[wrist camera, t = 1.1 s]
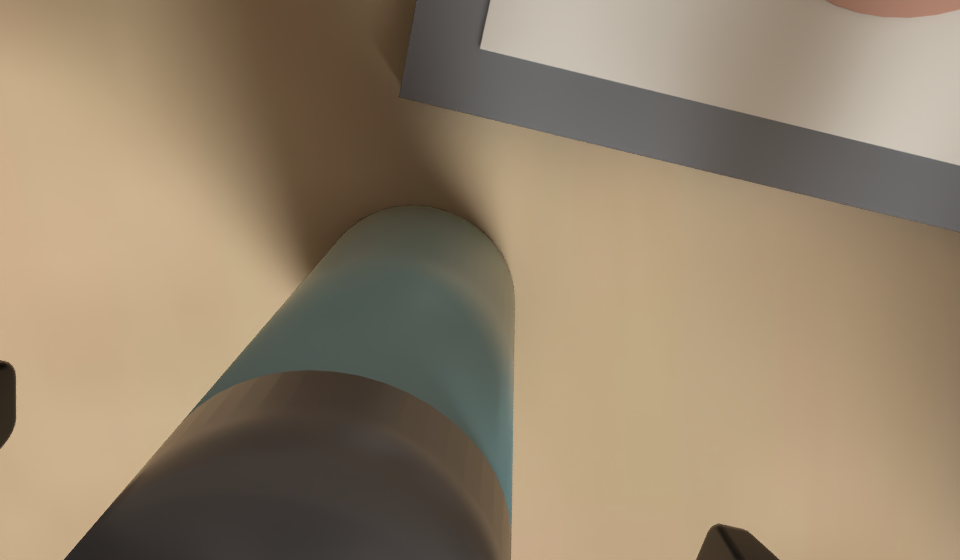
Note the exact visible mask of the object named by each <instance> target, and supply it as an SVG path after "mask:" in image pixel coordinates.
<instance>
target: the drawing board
mask: <svg viewBox="0 0 960 560" xmlns="http://www.w3.org/2000/svg"><path fill="white" fill-rule="evenodd" d="M399 97H400V98H404V99H408V100H413V101H417V102H421V103H425V104H429V105H433V106H438V107H442V108H446V109H450V110H454V111H458V112H462V113H467V114H471V115H475V116H479V117H483V118H487V119H492V120H496V121H500V122H504V123H508V124H512V125H516V126H521V127H525V128H529V129H533V130H537V131H541V132H546V133H550V134H554V135H558V136H562V137H566V138H570V139H575V140H579V141H583V142H587V143H591V144H595V145H600V146H604V147H608V148H612V149H616V150H620V151H624V152H629V153H633V154H637V155H641V156H645V157H649V158H653V159H658V160H662V161H666V162H670V163H674V164H678V165H683V166H687V167H691V168H695V169H699V170H703V171H707V172H712V173H716V174H720V175H724V176H728V177H732V178H737V179H741V180H745V181H749V182H753V183H757V184H761V185H766V186H770V187H774V188H778V189H782V190H786V191H791V192H795V193H799V194H803V195H807V196H811V197H815V198H820V199H824V200H828V201H832V202H836V203H840V204H845V205H849V206H853V207H857V208H861V209H865V210H869V211H874V212H878V213H882V214H886V215H890V216H894V217H899V218H903V219H907V220H911V221H915V222H919V223H923V224H928V225H932V226H936V227H940V228H944V229H948V230H952V231H957V232H960V0H417V1H416V6H415V12H414V17H413V23H412V28H411V34H410V39H409V44H408V50H407V55H406V61H405V66H404V72H403V77H402V83H401V88H400V94H399Z"/></svg>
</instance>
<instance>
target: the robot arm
mask: <svg viewBox="0 0 960 560" xmlns="http://www.w3.org/2000/svg"><path fill="white" fill-rule="evenodd" d="M15 422H16V374H15V370H14V367H13V366H12V365H11V364H10V363H9V362H6V361H1V360H0V449H1V447H2V446H3V445H4V444H5V443H6V441H7V440H8V438H9V437H10V435H11V433H12V431H13V429H14V426H15ZM696 560H779V559H778V558H777V557H776V556H775V555H774V554H773V553H772V552H770V551H769V550H768V549H767V548H766V547H765V546H764V545H763V544H762V543H760V542H759V541H758V540H757V539H756V538H755V537H754V536H753V535H752V534H751V533H749V532H748V531H746V530H744V529H741V528H736V527H732V526H727V525H723V524H716V525H714V526H712V527H711V528H710V530H709V531H708V533H707V535H706V538H705V540H704V542H703V545H702V547H701V549H700V552H699V554H698V557H697V559H696Z"/></svg>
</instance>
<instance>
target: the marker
mask: <svg viewBox="0 0 960 560" xmlns="http://www.w3.org/2000/svg"><path fill="white" fill-rule="evenodd" d="M514 326H515V295H514V286H513V282H512V277H511V274H510V271H509V269H508V266H507V264H506V262H505V260H504V258H503V256H502V255H501V253H500V251H499V250H498V249H497V247H496V246H495V245H494V243H493V242H492V241H491V240H490V239H489V238H488V237H487V236H486V235H485V234H484V233H483V232H482V231H481V230H480V229H478V228H477V227H476V226H475V225H473V224H472V223H470V222H468V221H467V220H465V219H464V218H462V217H460V216H457V215H455V214H453V213H451V212H448V211H445V210H441V209H438V208H433V207H427V206H414V205H409V206H397V207H393V208H388V209H384V210H381V211H379V212H376V213H373V214H371V215H369V216H367V217H365V218H363V219H362V220H360V221H359V222H357V223H356V224H355V225H353V226H352V227H351V228H350V229H348V230H347V231H346V232H345V233H344V234H343V235H342V236H341V238H340V239H339V240H338V241H337V242H336V243H335V244H334V246H333V247H332V248H331V249H330V250H329V251H328V253H327V254H326V255H325V256H324V257H323V258H322V260H321V261H320V262H319V263H318V264H317V265H316V267H315V268H314V269H313V270H312V271H311V272H310V274H309V275H308V276H307V277H306V278H305V279H304V281H303V282H302V283H301V284H300V285H299V286H298V288H297V289H296V290H295V291H294V292H293V293H292V295H291V296H290V297H289V298H288V299H287V300H286V302H285V303H284V304H283V305H282V306H281V307H280V309H279V310H278V311H277V312H276V313H275V314H274V316H273V317H272V318H271V319H270V320H269V321H268V323H267V324H266V325H265V326H264V327H263V328H262V330H261V331H260V332H259V333H258V334H257V335H256V337H255V338H254V339H253V340H252V341H251V342H250V344H249V345H248V346H247V347H246V348H245V349H244V350H243V352H242V353H241V354H240V355H239V356H238V357H237V359H236V360H235V361H234V362H233V363H232V364H231V366H230V367H229V368H228V369H227V370H226V371H225V373H224V374H223V375H222V376H221V377H220V378H219V380H218V381H217V382H216V383H215V384H214V385H213V387H212V388H211V389H210V390H209V391H208V392H207V394H206V395H205V396H204V397H203V398H202V399H201V401H200V402H199V403H198V404H197V405H196V406H195V408H194V409H193V410H192V411H191V412H190V413H189V415H188V416H187V417H186V418H185V419H184V420H183V422H182V423H181V424H180V425H179V426H178V427H177V429H176V430H175V431H174V432H173V433H172V434H171V436H170V437H169V438H168V439H167V440H166V441H165V443H164V444H163V445H162V446H161V447H160V448H159V450H158V451H157V452H156V453H155V454H154V455H153V457H152V458H151V459H150V460H149V461H148V462H147V463H146V465H145V466H144V467H143V468H142V469H141V470H140V472H139V473H138V474H137V475H136V476H135V477H134V479H133V480H132V481H131V482H130V483H129V484H128V486H127V487H126V488H125V489H124V490H123V491H122V493H121V494H120V495H119V496H118V497H117V498H116V500H115V501H114V502H113V503H112V504H111V505H110V507H109V508H108V509H107V510H106V511H105V512H104V514H103V515H102V516H101V517H100V518H99V519H98V521H97V522H96V523H95V524H94V525H93V526H92V528H91V529H90V530H89V531H88V532H87V533H86V535H85V536H84V537H83V538H82V539H81V540H80V542H79V543H78V544H77V545H76V546H75V547H74V549H73V550H72V551H71V552H70V553H69V554H68V556H67V557H66V558H65V559H64V560H511V524H512V458H513V392H514Z"/></svg>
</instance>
